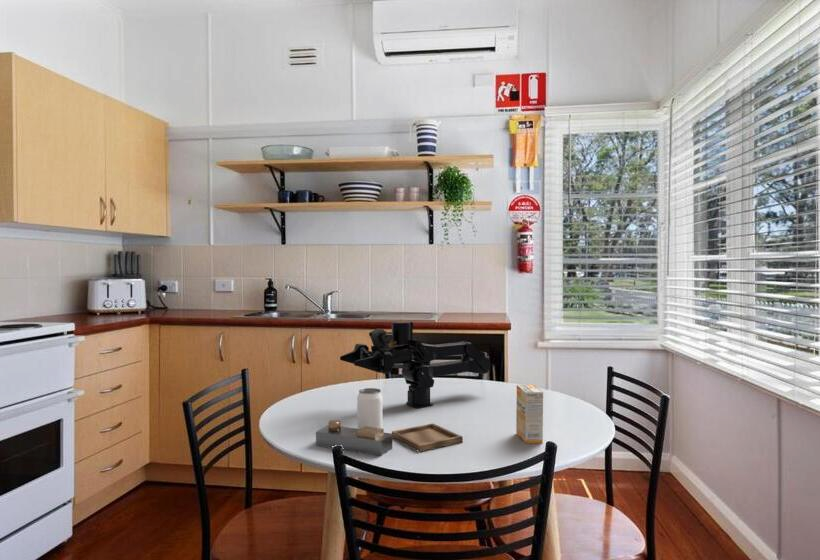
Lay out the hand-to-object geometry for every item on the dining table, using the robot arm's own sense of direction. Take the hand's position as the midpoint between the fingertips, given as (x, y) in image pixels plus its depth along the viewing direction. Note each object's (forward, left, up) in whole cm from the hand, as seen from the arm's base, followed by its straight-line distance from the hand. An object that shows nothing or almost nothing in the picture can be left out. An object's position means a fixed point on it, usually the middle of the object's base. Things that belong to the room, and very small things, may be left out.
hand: (347, 360), depth 155 cm
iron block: (+10, +24, -17) cm, 30 cm away
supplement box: (-31, +42, -17) cm, 55 cm away
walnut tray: (-8, +29, -17) cm, 34 cm away
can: (+3, +19, -17) cm, 25 cm away
